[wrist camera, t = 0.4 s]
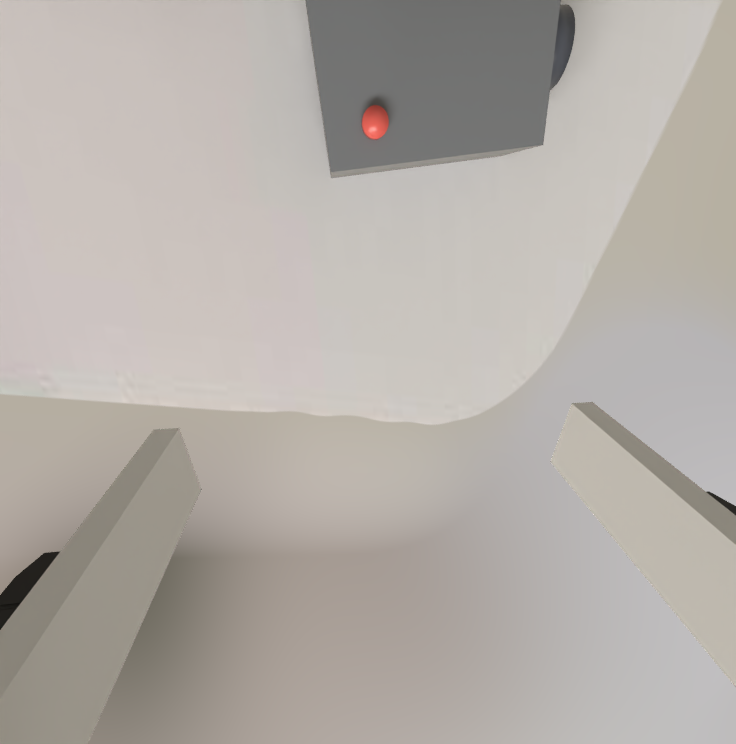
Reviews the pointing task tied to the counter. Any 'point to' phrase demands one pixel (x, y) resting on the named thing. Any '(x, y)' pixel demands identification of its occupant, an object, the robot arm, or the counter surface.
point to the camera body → (434, 78)
